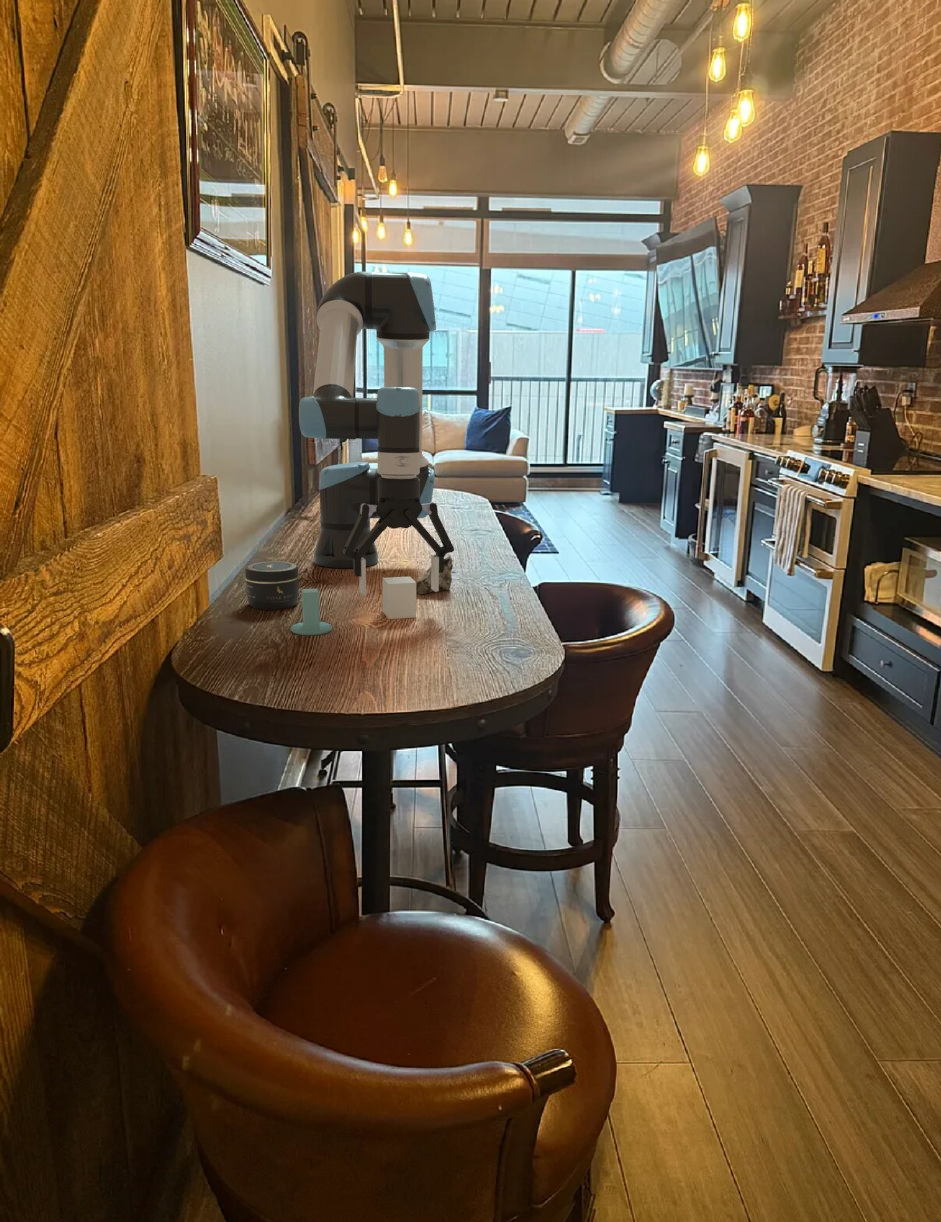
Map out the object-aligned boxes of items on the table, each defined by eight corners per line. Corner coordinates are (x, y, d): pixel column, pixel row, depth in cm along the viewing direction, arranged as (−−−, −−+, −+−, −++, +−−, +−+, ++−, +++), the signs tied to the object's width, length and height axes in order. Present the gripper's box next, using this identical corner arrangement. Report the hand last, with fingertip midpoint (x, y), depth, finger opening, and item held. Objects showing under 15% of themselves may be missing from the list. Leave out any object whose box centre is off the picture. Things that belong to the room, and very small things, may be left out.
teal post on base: (289, 625, 151) (287, 587, 149) (328, 622, 153) (327, 585, 151) (293, 636, 145) (291, 596, 143) (334, 633, 147) (333, 594, 145)
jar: (256, 613, 158) (254, 573, 156) (239, 602, 167) (237, 563, 165) (307, 607, 164) (306, 568, 162) (288, 596, 172) (287, 558, 170)
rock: (448, 592, 171) (465, 555, 176) (415, 577, 170) (434, 540, 176) (438, 613, 178) (455, 577, 183) (406, 598, 178) (424, 562, 183)
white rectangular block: (382, 611, 161) (382, 577, 159) (409, 610, 163) (409, 576, 161) (388, 619, 156) (388, 584, 155) (416, 617, 158) (416, 582, 156)
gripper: (331, 479, 146) (334, 600, 151) (471, 477, 153) (469, 592, 158) (325, 475, 153) (328, 590, 158) (459, 473, 160) (458, 584, 165)
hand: (399, 592), depth 158 cm, fingers open, 13 cm apart
